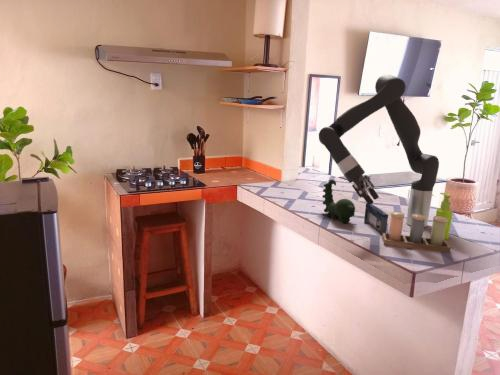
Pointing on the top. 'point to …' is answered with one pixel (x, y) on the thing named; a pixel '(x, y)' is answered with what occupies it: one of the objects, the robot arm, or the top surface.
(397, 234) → the terracotta jar
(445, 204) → the soap dispenser
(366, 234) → the top surface
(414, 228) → the slate blue jar
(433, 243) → the olive jar
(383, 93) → the robot arm
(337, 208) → the toy figurine
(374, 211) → the vhs cassette tape
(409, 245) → the walnut spice rack
